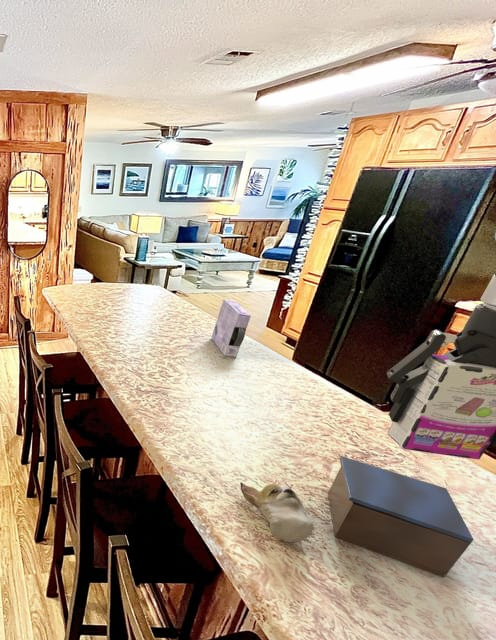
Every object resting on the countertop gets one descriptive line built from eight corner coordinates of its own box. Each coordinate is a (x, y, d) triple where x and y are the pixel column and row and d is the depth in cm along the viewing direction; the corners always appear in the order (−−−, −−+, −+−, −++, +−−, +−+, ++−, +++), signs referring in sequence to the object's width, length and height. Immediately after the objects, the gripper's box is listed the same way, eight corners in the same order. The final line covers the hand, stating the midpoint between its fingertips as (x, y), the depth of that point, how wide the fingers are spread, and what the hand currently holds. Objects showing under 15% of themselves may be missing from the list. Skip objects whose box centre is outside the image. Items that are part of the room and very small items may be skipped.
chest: (334, 536, 75) (352, 503, 71) (327, 492, 85) (343, 461, 81) (444, 577, 68) (471, 543, 64) (421, 523, 78) (444, 491, 74)
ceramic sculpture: (276, 512, 69) (244, 460, 82) (262, 547, 72) (233, 492, 86) (342, 521, 67) (298, 467, 81) (324, 557, 71) (285, 499, 84)
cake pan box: (238, 359, 147) (252, 315, 139) (224, 357, 147) (237, 314, 139) (222, 339, 164) (234, 299, 156) (210, 338, 164) (221, 298, 156)
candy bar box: (457, 442, 69) (511, 360, 61) (479, 461, 64) (541, 374, 57) (383, 432, 71) (427, 351, 64) (400, 449, 67) (450, 365, 59)
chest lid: (348, 500, 71) (350, 497, 71) (339, 458, 82) (341, 455, 81) (471, 543, 64) (474, 539, 63) (444, 491, 74) (446, 488, 74)
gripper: (627, 317, 54) (532, 442, 63) (401, 289, 65) (349, 399, 74) (669, 334, 48) (557, 469, 58) (413, 301, 59) (355, 418, 69)
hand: (440, 430), depth 66 cm, fingers closed on candy bar box, 12 cm apart
